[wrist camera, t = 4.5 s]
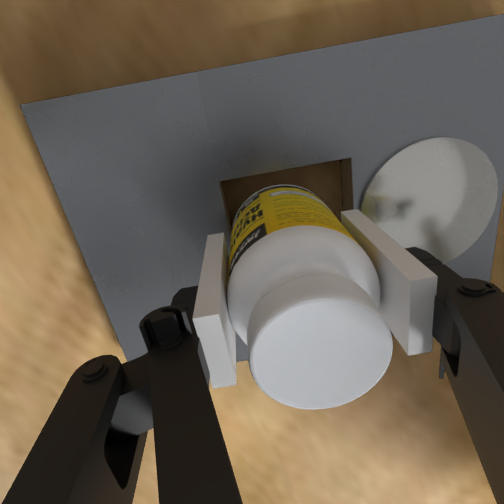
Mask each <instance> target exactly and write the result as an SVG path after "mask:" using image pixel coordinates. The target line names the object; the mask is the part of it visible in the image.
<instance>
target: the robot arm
mask: <svg viewBox="0 0 504 504" xmlns="http://www.w3.org/2000/svg"><path fill="white" fill-rule="evenodd" d="M341 223H342V225H343V226H344V227H345V228H346V229H347V231H348V232H349V233H350V234H351V235H352V237H353V238H354V239H355V240H356V241H357V242H358V244H359V245H360V246H361V247H362V248H363V250H364V251H365V252H366V254H367V255H368V257H369V258H370V260H371V261H372V263H373V265H374V267H375V270H376V272H377V275H378V279H379V284H380V303H379V308H378V309H379V311H380V313H381V314H382V316H383V317H384V319H385V321H386V322H387V324H388V326H389V329H390V331H391V332H392V333H393V335H394V336H395V338H396V339H397V341H398V342H399V343H400V345H401V346H402V348H403V349H404V351H405V352H406V353H407V355H408V356H410V355H416V354H421V353H427V352H432V346H433V337H434V338H435V339H436V340H437V341H438V342H439V343H440V345H441V355H440V366H439V378H440V379H443V377H444V372H445V371H446V374H447V376H448V379H449V381H450V384H451V387H452V389H453V392H454V394H455V397H456V399H457V402H458V404H459V407H460V410H461V412H462V415H463V417H464V420H465V422H466V425H467V428H468V430H469V433H470V435H471V438H472V440H473V443H474V446H475V448H476V451H477V453H478V456H479V458H480V461H481V464H482V466H483V469H484V471H485V474H486V476H487V479H488V482H489V484H490V487H491V489H492V492H493V494H494V497H495V499H496V502H497V504H504V293H503V292H502V291H501V290H500V289H499V288H498V287H497V286H495V285H494V284H492V283H489V282H487V281H484V280H480V279H474V278H462V277H461V276H460V275H458V274H457V273H456V272H454V271H453V270H452V269H450V268H449V267H448V266H446V265H445V264H443V263H442V262H441V261H440V260H438V259H436V257H434V256H433V255H432V254H430V253H429V252H428V251H425V250H423V249H420V248H417V247H410V248H403V247H402V246H401V245H400V244H399V243H397V242H396V241H395V240H394V239H393V238H391V237H390V236H389V235H388V234H387V233H385V232H384V231H383V230H382V229H381V228H379V227H378V226H377V225H376V224H375V223H373V222H372V221H371V220H370V219H369V218H367V217H366V216H365V215H364V214H363V213H361V212H360V211H359V210H358V209H353V210H348V211H342V212H341ZM228 268H229V254H228V250H227V245H226V240H225V236H224V233H218V234H212V235H208V236H207V242H206V247H205V253H204V258H203V264H202V269H201V275H200V280H199V285H198V286H192V287H186V288H181V289H180V290H179V291H178V292H177V293H176V294H175V295H174V296H173V299H172V302H171V306H165V307H160V308H158V309H156V310H153V311H151V312H150V313H148V314H147V315H146V316H144V318H143V319H142V320H141V321H140V324H139V329H140V331H141V334H142V337H143V339H144V342H145V344H146V347H147V350H148V352H147V353H146V354H144V355H142V356H140V357H138V358H136V359H133V360H131V361H128V362H126V363H123V364H121V363H120V361H119V359H118V358H117V357H116V356H113V355H102V356H99V357H96V358H93V359H91V360H89V361H87V362H86V363H84V364H83V365H82V366H80V367H79V368H78V369H77V370H76V371H75V372H74V374H73V375H72V376H71V378H70V380H69V381H68V383H67V385H66V387H65V389H64V391H63V392H62V394H61V396H60V398H59V400H58V402H57V403H56V405H55V407H54V409H53V411H52V413H51V414H50V416H49V418H48V420H47V422H46V424H45V425H44V427H43V429H42V431H41V433H40V435H39V436H38V438H37V440H36V442H35V444H34V446H33V447H32V449H31V451H30V453H29V455H28V457H27V458H26V460H25V462H24V464H23V466H22V468H21V469H20V471H19V473H18V475H17V477H16V479H15V480H14V482H13V484H12V486H11V488H10V490H9V491H8V493H7V495H6V497H5V499H4V501H3V502H2V504H132V502H133V498H134V493H135V488H136V484H137V479H138V474H139V470H140V465H141V461H142V456H143V451H144V447H145V442H146V438H147V433H148V430H150V429H152V428H154V441H155V454H156V467H157V480H158V493H159V504H243V503H242V499H241V496H240V492H239V489H238V486H237V482H236V479H235V476H234V472H233V469H232V465H231V462H230V459H229V455H228V452H227V449H226V445H225V442H224V438H223V435H222V432H221V428H220V425H219V422H218V418H217V415H216V411H215V408H214V405H213V401H212V398H211V395H210V391H209V379H210V380H211V384H212V387H213V389H215V388H221V387H227V386H233V385H236V331H235V329H234V327H233V325H232V322H231V319H230V316H229V312H228V305H227V286H228Z"/></svg>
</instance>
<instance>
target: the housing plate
mask: <svg viewBox="0 0 504 504" xmlns="http://www.w3.org/2000/svg"><path fill="white" fill-rule="evenodd" d="M20 107H21V110H22V112H23V115H24V117H25V119H26V122H27V124H28V126H29V129H30V131H31V134H32V136H33V138H34V141H35V143H36V145H37V148H38V150H39V153H40V155H41V157H42V160H43V162H44V164H45V167H46V169H47V172H48V174H49V176H50V179H51V181H52V183H53V186H54V188H55V191H56V193H57V195H58V198H59V200H60V202H61V205H62V207H63V210H64V212H65V214H66V217H67V219H68V221H69V224H70V226H71V229H72V231H73V233H74V236H75V238H76V240H77V243H78V245H79V248H80V250H81V252H82V255H83V257H84V259H85V262H86V264H87V267H88V269H89V271H90V274H91V276H92V278H93V281H94V283H95V286H96V288H97V290H98V293H99V295H100V297H101V300H102V302H103V305H104V307H105V309H106V312H107V314H108V316H109V319H110V321H111V324H112V326H113V328H114V331H115V333H116V335H117V338H118V340H119V343H120V345H121V347H122V350H123V352H124V354H125V357H126V359H127V362H128V361H131V360H133V359H136V358H138V357H140V356H142V355H144V354H146V353H147V352H148V350H147V347H146V344H145V342H144V339H143V337H142V334H141V331H140V329H139V324H140V321H141V320H142V319H143V318H144V316H146V315H147V314H148V313H150V312H151V311H153V310H156V309H158V308H160V307H165V306H171V302H172V299H173V296H174V295H175V294H176V293H177V292H178V291H179V290H180V289H181V288H186V287H192V286H198V285H199V280H200V275H201V269H202V264H203V258H204V253H205V247H206V242H207V236H208V235H212V234H218V233H224V236H225V240H226V245H227V250H228V254H229V255H230V242H231V232H232V229H231V224H230V219H229V214H228V210H227V205H226V200H225V195H224V190H223V185H222V181H224V180H229V179H235V178H240V177H246V176H251V175H257V174H262V173H268V172H273V171H279V170H285V169H290V168H296V167H301V166H307V165H312V164H318V163H323V162H329V161H334V160H340V159H341V170H342V188H343V206H344V211H348V210H353V209H358V210H359V211H360V212H361V213H363V214H364V215H365V216H366V217H367V218H369V219H370V220H371V221H372V222H373V223H375V224H376V225H377V226H378V227H379V228H381V229H382V230H383V231H384V232H385V233H387V234H388V235H389V236H390V237H391V238H393V239H394V240H395V241H396V242H397V243H399V244H400V245H401V246H402V247H403V248H410V247H417V248H420V249H423V250H425V251H428V252H429V253H430V254H432V255H433V256H434V257H436V259H438V260H440V261H441V262H442V263H443V264H445V265H446V266H448V267H449V268H450V269H452V270H453V271H454V272H456V273H457V274H458V275H460V276H461V277H462V278H474V279H480V280H484V281H487V282H489V283H490V277H491V270H492V263H493V257H494V250H495V243H496V237H497V230H498V223H499V216H500V210H501V203H502V196H503V190H504V14H501V15H496V16H490V17H485V18H480V19H474V20H469V21H464V22H458V23H453V24H448V25H442V26H437V27H432V28H426V29H421V30H416V31H410V32H405V33H400V34H394V35H389V36H384V37H378V38H373V39H368V40H362V41H357V42H352V43H346V44H341V45H336V46H331V47H325V48H320V49H315V50H309V51H304V52H299V53H293V54H288V55H283V56H277V57H272V58H267V59H261V60H256V61H251V62H245V63H240V64H235V65H229V66H224V67H219V68H213V69H208V70H203V71H197V72H192V73H187V74H181V75H176V76H171V77H165V78H160V79H155V80H149V81H144V82H139V83H133V84H128V85H123V86H117V87H112V88H107V89H101V90H96V91H91V92H85V93H80V94H75V95H69V96H64V97H59V98H53V99H48V100H43V101H37V102H32V103H27V104H22V105H20ZM390 332H391V331H390ZM391 335H393V333H392V332H391ZM245 360H248V346H247V345H246V344H245V343H244V342H243V340H242V339H241V338H240V337H239V335H238V334H237V332H236V362H239V361H245Z"/></svg>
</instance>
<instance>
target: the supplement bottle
mask: <svg viewBox="0 0 504 504" xmlns="http://www.w3.org/2000/svg"><path fill="white" fill-rule="evenodd" d="M379 303H380V284H379V279H378V275H377V272H376V270H375V267H374V265H373V263H372V261H371V260H370V258H369V257H368V255H367V254H366V252H365V251H364V250H363V248H362V247H361V246H360V245H359V244H358V242H357V241H356V240H355V239H354V238H353V237H352V235H351V234H350V233H349V232H348V231H347V229H346V228H345V227H344V226H343V225H342V223H341V222H340V221H339V220H338V219H337V217H336V216H335V215H334V214H333V213H332V211H331V210H330V209H329V208H328V206H327V205H326V204H325V203H324V202H323V201H322V200H321V199H320V198H319V197H318V196H317V195H315V194H314V193H313V192H311V191H309V190H307V189H305V188H303V187H300V186H296V185H289V184H279V185H273V186H269V187H266V188H263V189H261V190H259V191H257V192H255V193H254V194H253V195H251V196H250V197H249V198H248V199H247V200H246V201H245V202H244V203H243V204H242V206H241V207H240V208H239V210H238V212H237V214H236V216H235V218H234V221H233V225H232V232H231V242H230V255H229V268H228V286H227V305H228V312H229V316H230V319H231V322H232V325H233V327H234V329H235V331H236V332H237V334H238V335H239V337H240V338H241V339H242V340H243V342H244V343H245V344H246V345H247V346H248V362H249V367H250V371H251V374H252V376H253V378H254V380H255V382H256V383H257V385H258V386H259V387H260V389H261V390H262V391H263V392H264V393H265V394H267V395H268V396H269V397H271V398H272V399H274V400H276V401H277V402H279V403H282V404H284V405H287V406H290V407H294V408H300V409H311V410H314V409H326V408H333V407H336V406H340V405H343V404H346V403H348V402H350V401H353V400H355V399H357V398H358V397H360V396H362V395H363V394H365V393H366V392H368V391H369V390H370V389H371V388H372V387H373V386H374V385H376V384H377V383H378V381H379V380H380V379H381V378H382V376H383V375H384V373H385V372H386V370H387V368H388V366H389V363H390V361H391V357H392V352H393V341H392V335H391V332H390V329H389V326H388V324H387V322H386V321H385V319H384V317H383V316H382V314H381V313H380V311H379V309H378V308H379Z"/></svg>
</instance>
